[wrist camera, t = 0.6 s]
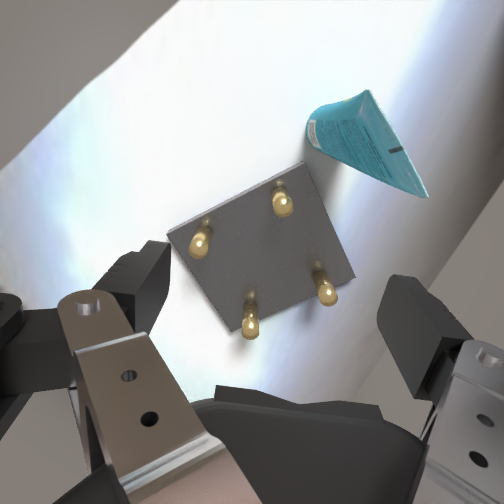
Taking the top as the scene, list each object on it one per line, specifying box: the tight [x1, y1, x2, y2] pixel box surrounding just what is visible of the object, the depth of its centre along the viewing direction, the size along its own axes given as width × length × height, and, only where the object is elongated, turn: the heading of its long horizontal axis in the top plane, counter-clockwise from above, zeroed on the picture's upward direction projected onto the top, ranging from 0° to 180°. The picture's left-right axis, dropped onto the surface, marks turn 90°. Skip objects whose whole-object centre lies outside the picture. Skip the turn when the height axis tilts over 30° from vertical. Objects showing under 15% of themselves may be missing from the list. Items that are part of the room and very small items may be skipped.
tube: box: [306, 90, 429, 198], centre depth 28 cm, size 7×5×19 cm, turn 42°
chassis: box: [166, 161, 356, 340], centre depth 40 cm, size 18×16×6 cm
